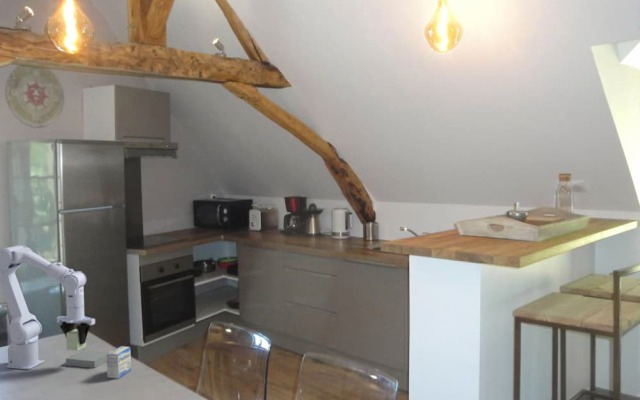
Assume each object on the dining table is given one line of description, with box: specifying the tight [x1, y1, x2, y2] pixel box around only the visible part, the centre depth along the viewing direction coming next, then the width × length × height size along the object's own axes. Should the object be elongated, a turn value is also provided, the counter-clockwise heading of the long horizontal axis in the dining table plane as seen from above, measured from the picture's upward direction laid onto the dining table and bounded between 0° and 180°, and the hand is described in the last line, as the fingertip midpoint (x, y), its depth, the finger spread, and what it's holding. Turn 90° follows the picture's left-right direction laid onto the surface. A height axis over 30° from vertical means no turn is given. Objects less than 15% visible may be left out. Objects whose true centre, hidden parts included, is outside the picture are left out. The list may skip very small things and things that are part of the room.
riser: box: [65, 349, 111, 369], centre depth 194 cm, size 12×10×2 cm
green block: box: [65, 328, 87, 351], centre depth 188 cm, size 4×4×6 cm
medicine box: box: [106, 345, 132, 380], centre depth 182 cm, size 8×4×9 cm, turn 168°
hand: (76, 343), depth 188 cm, fingers closed on green block, 4 cm apart
